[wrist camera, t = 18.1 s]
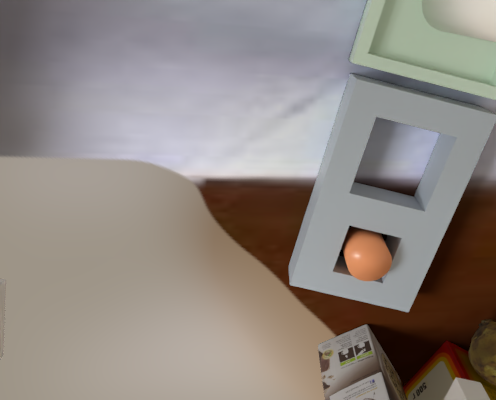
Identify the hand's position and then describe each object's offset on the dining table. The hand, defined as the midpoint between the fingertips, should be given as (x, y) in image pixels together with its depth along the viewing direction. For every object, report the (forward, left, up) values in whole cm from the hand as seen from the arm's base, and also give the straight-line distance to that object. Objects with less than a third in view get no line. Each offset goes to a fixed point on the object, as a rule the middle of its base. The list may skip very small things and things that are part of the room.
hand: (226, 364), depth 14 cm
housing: (+13, -4, -32) cm, 34 cm away
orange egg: (+13, -9, -31) cm, 34 cm away
